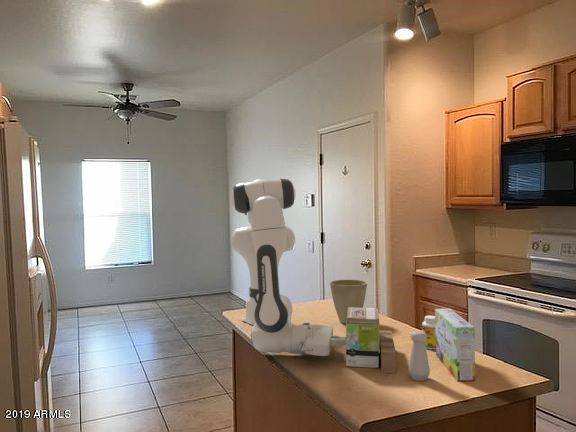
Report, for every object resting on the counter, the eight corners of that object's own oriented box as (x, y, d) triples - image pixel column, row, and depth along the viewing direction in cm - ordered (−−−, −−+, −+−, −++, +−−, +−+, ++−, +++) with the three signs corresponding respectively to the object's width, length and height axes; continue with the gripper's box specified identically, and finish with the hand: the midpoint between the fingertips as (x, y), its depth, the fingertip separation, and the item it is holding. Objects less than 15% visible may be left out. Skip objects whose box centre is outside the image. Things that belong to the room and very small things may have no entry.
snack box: (433, 355, 148) (433, 308, 147) (451, 355, 148) (451, 308, 147) (455, 381, 127) (455, 326, 126) (476, 381, 127) (476, 326, 126)
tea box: (380, 368, 137) (379, 318, 137) (345, 367, 139) (345, 317, 138) (378, 351, 152) (378, 306, 151) (347, 350, 154) (346, 305, 153)
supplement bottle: (418, 346, 157) (418, 316, 157) (431, 343, 159) (431, 314, 159) (430, 351, 152) (430, 319, 152) (443, 348, 154) (443, 317, 154)
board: (379, 348, 155) (378, 330, 155) (391, 348, 155) (391, 330, 155) (381, 372, 134) (381, 352, 134) (395, 373, 133) (395, 352, 133)
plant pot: (374, 320, 190) (374, 281, 190) (354, 328, 179) (353, 287, 179) (344, 315, 200) (343, 277, 200) (322, 322, 189) (322, 282, 189)
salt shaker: (417, 384, 125) (417, 336, 125) (403, 376, 131) (403, 330, 130) (434, 380, 128) (434, 333, 127) (420, 373, 133) (420, 327, 133)
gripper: (297, 339, 138) (344, 340, 136) (305, 321, 158) (347, 322, 156) (297, 360, 138) (344, 362, 136) (306, 339, 158) (347, 341, 156)
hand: (346, 340), depth 146 cm, fingers closed
